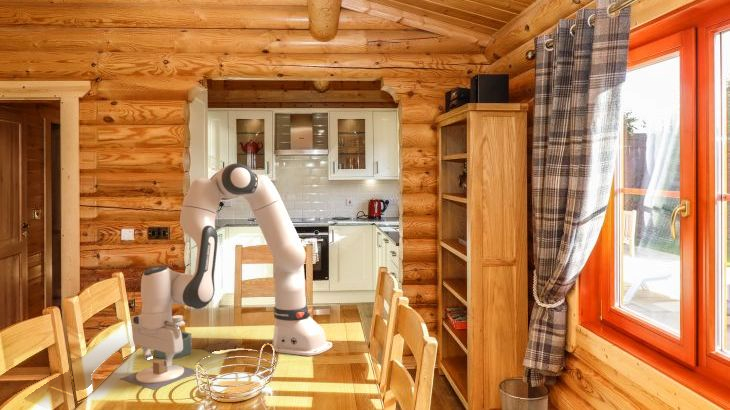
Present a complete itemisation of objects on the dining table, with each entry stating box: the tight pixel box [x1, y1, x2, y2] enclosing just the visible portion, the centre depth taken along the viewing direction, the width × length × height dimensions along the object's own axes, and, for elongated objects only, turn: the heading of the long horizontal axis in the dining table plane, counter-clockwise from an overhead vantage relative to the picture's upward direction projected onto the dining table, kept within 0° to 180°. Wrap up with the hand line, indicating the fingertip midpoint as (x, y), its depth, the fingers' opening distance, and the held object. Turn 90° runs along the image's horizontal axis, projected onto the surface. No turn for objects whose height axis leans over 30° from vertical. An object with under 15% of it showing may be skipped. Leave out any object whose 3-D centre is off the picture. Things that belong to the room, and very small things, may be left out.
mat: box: [119, 363, 196, 391], centre depth 168 cm, size 17×17×1 cm
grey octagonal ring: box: [153, 331, 193, 360], centre depth 189 cm, size 12×12×6 cm
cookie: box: [202, 340, 245, 354], centre depth 194 cm, size 12×12×1 cm
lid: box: [136, 358, 184, 384], centre depth 168 cm, size 14×14×4 cm
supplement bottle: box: [172, 314, 186, 332], centre depth 203 cm, size 5×5×10 cm
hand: (158, 362), depth 168 cm, fingers open, 8 cm apart
